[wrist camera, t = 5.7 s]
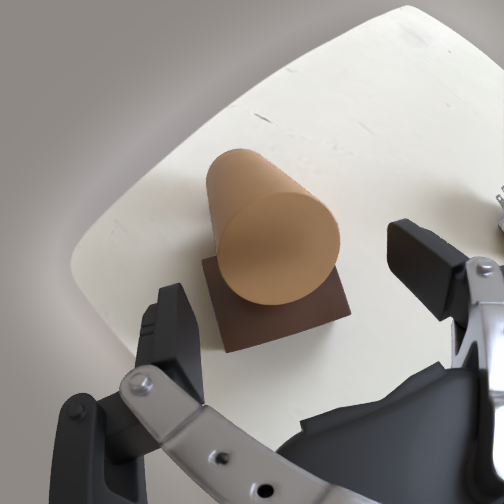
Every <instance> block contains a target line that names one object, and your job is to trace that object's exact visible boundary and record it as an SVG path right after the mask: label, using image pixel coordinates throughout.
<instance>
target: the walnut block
mask: <svg viewBox="0 0 504 504" xmlns="http://www.w3.org/2000/svg"><path fill="white" fill-rule="evenodd" d="M202 265H203V269H204V273H205V277H206V281H207V285H208V289H209V293H210V297H211V301H212V304H213V308H214V312H215V315H216V319H217V323H218V326H219V330H220V334H221V337H222V341H223V344H224V348H225V351H226V353H230V352H234V351H238V350H241V349H245V348H249V347H252V346H256V345H259V344H263V343H266V342H270V341H273V340H276V339H280V338H283V337H286V336H289V335H293V334H296V333H299V332H302V331H305V330H308V329H311V328H314V327H317V326H320V325H323V324H326V323H329V322H332V321H335V320H338V319H340V318H343V317H346V316H349V315H351V311H350V308H349V305H348V302H347V298H346V295H345V292H344V289H343V286H342V283H341V280H340V278H339V275H338V272H337V269H336V266H335V265H334V267H333V269H332V271H331V272H330V274H329V275H328V277H327V278H326V279H325V280H324V282H323V283H322V284H321V285H320V286H319V287H317V288H316V289H315V290H314V291H312V292H311V293H309V294H308V295H306V296H304V297H302V298H300V299H298V300H295V301H293V302H289V303H285V304H279V305H263V304H258V303H254V302H251V301H248V300H246V299H244V298H242V297H241V296H239V295H238V294H236V293H235V292H234V291H233V290H232V289H231V288H230V287H229V286H228V285H227V284H226V282H225V280H224V279H223V277H222V274H221V272H220V269H219V265H218V259H217V256H214V257H210V258H207V259H203V260H202Z"/></svg>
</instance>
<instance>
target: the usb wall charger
mask: <svg viewBox="0 0 504 504" xmlns="http://www.w3.org/2000/svg"><path fill="white" fill-rule="evenodd" d="M501 188H502V190H503V192H504V189H503V188H504V186H503V187H501ZM498 197H500V198H501V200H499V199H498ZM496 199H497V200H498V202H499V203H500V205H501V206H502V208H503V209H504V199H503V198H502V197H501V196H500V194H498V195H497V196H496ZM499 226H500V228H501V229H502V231H503V232H504V216H503V218H502V220H501V221H500V223H499Z"/></svg>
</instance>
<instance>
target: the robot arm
mask: <svg viewBox="0 0 504 504" xmlns="http://www.w3.org/2000/svg"><path fill="white" fill-rule="evenodd" d="M387 262H388V266H389V268H390V270H391V272H392V273H393V274H394V275H395V276H396V277H397V278H398V279H399V280H400V281H401V282H402V283H403V284H404V285H405V286H406V287H407V288H408V289H409V290H410V291H411V292H412V293H413V294H414V295H415V296H416V297H417V298H418V299H419V300H420V301H421V302H422V303H423V304H424V305H425V306H426V307H427V309H428V310H429V311H430V312H431V313H432V314H433V315H434V316H435V317H436V318H437V319H438V320H439V321H440V322H441V321H442V320H444V319H446V318H448V317H450V316H451V317H452V318H453V320H452V324H451V338H452V362H451V368H450V369H444V367H443V366H442V365H441V363H440V362H439V361H438V362H436V363H434V364H433V365H431V366H429V367H427V368H425V369H423V370H422V371H420V372H418V373H416V374H414V375H412V376H410V377H409V378H408V379H407V380H405V381H404V382H403V383H402V384H401V385H399V386H398V387H397V388H396V389H395V390H393V391H392V392H391V393H390V394H388V395H387V396H386V397H385V398H383V399H381V400H379V401H375V402H370V403H365V404H359V405H353V406H347V407H340V408H337V409H334V410H331V411H328V412H326V413H323V414H320V415H317V416H314V417H311V418H308V419H305V420H302V421H300V425H301V429H302V431H301V432H299V433H297V434H296V435H294V436H293V437H291V438H290V439H289V440H287V441H286V442H285V443H284V444H283V445H282V446H280V447H279V448H278V449H277V451H276V452H274V451H272V450H271V449H269V448H268V447H266V446H265V445H263V444H262V443H260V442H259V441H257V440H256V439H254V438H253V437H251V436H250V435H248V434H247V433H246V432H244V431H243V430H241V429H240V428H239V427H237V426H236V425H234V424H233V423H232V422H230V421H229V420H228V419H226V418H225V417H224V416H222V415H221V414H220V413H218V412H217V411H216V410H214V409H213V408H212V407H210V406H208V405H204V406H202V404H205V403H204V392H203V381H202V369H201V355H200V341H199V329H198V324H197V321H196V318H195V315H194V313H193V310H192V308H191V306H190V304H189V301H188V299H187V296H186V294H185V292H184V289H183V287H182V285H181V284H180V283H176V284H173V285H169V286H165V287H162V288H160V289H159V294H158V301H157V303H156V304H152V305H150V306H149V307H148V309H147V310H146V312H145V313H144V315H143V318H142V323H141V329H140V337H139V342H138V348H137V355H136V362H135V368H134V369H133V370H131V371H130V372H129V373H127V375H125V377H124V378H123V380H122V381H121V384H120V387H119V391H118V392H116V393H114V394H112V395H110V396H107V397H105V398H103V399H101V400H99V401H96V400H95V399H94V398H93V397H92V396H91V395H89V394H87V393H79V394H76V395H73V396H72V397H70V398H69V399H68V400H67V401H66V402H65V403H64V404H63V406H62V408H61V410H60V414H59V419H58V425H57V431H56V438H55V443H54V450H53V459H52V467H51V477H50V490H49V504H148V503H147V493H146V482H145V468H144V455H145V454H147V453H150V452H152V451H154V450H156V449H159V448H162V449H163V450H164V452H165V453H166V454H167V455H168V456H169V457H170V458H171V459H172V460H173V461H174V462H175V463H176V464H177V465H178V466H179V467H180V468H181V469H182V470H183V471H184V472H185V473H186V474H187V475H188V476H189V477H190V478H191V479H192V480H193V481H194V482H196V483H197V484H198V485H199V486H200V487H201V488H202V489H203V490H204V491H205V492H206V493H208V494H209V495H210V496H211V497H212V498H213V499H214V500H216V501H217V502H218V503H219V504H504V266H499V265H498V264H497V263H496V262H494V261H493V260H491V259H489V258H486V257H472V258H468V257H467V256H466V255H464V254H463V253H462V252H460V251H459V250H457V249H456V248H455V247H453V246H452V245H451V244H449V243H447V242H446V241H445V240H443V239H442V238H440V237H439V236H438V235H436V234H435V233H433V232H432V231H430V230H427V229H424V228H421V227H419V226H418V225H416V224H415V223H413V222H412V221H410V220H409V219H406V218H405V219H401V220H398V221H395V222H391V223H389V225H388V228H387Z"/></svg>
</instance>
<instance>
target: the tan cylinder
mask: <svg viewBox="0 0 504 504" xmlns="http://www.w3.org/2000/svg"><path fill="white" fill-rule="evenodd" d="M206 188H207V195H208V202H209V209H210V215H211V222H212V228H213V234H214V241H215V247H216V253H217V259H218V265H219V269H220V272H221V274H222V277H223V279H224V280H225V282H226V284H227V285H228V286H229V287H230V288H231V289H232V290H233V291H234V292H235V293H236V294H238V295H239V296H241V297H242V298H244V299H246V300H248V301H251V302H254V303H258V304H263V305H279V304H285V303H289V302H293V301H295V300H298V299H300V298H302V297H304V296H306V295H308V294H309V293H311V292H312V291H314V290H315V289H316V288H317V287H319V286H320V285H321V284H322V283H323V282H324V280H325V279H326V278H327V277H328V275H329V274H330V272H331V271H332V269H333V267H334V265H335V263H336V261H337V258H338V254H339V249H340V233H339V228H338V224H337V222H336V219H335V217H334V216H333V214H332V213H331V211H330V210H329V209H328V208H327V207H326V205H325V204H323V203H322V202H321V201H320V200H318V199H317V198H316V197H315V196H313V195H312V194H311V193H310V192H308V191H307V190H306V189H305V188H303V187H302V186H301V185H300V184H298V183H297V182H296V181H294V180H293V179H292V178H291V177H289V176H288V175H287V174H285V173H284V172H283V171H281V170H280V169H279V168H277V167H276V166H275V165H273V164H272V163H271V162H269V161H268V160H267V159H265V158H264V157H263V156H261V155H260V154H258V153H256V152H255V151H252V150H248V149H233V150H230V151H227V152H225V153H223V154H222V155H220V156H219V157H218V158H216V159H215V161H214V162H213V163H212V164H211V166H210V168H209V170H208V173H207V177H206Z"/></svg>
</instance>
